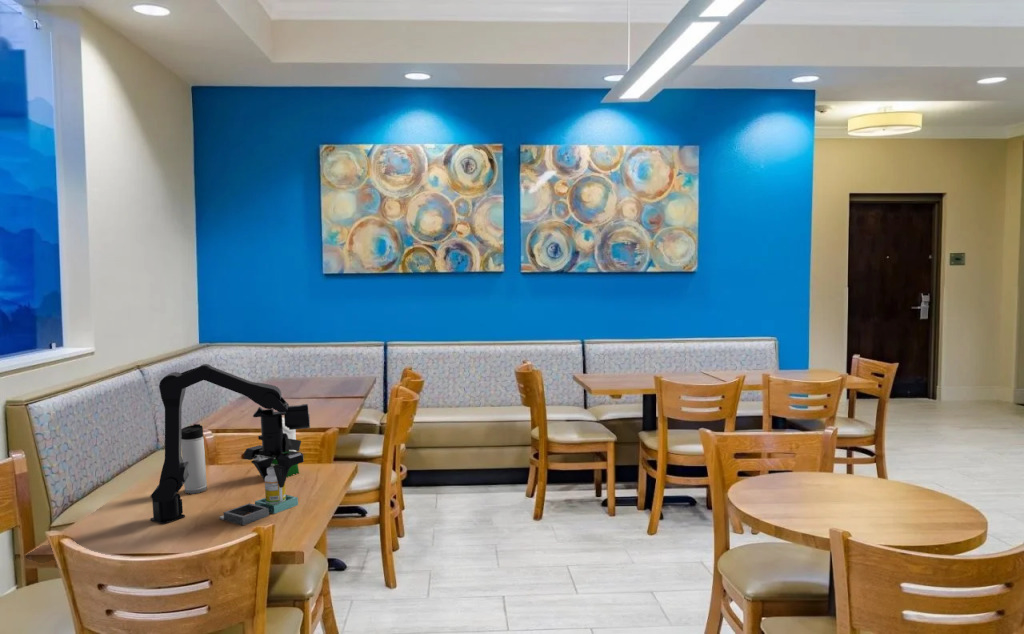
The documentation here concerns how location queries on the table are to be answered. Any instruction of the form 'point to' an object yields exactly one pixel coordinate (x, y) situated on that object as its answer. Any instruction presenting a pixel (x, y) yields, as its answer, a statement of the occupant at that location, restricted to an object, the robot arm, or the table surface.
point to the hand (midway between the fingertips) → (275, 485)
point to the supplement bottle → (273, 488)
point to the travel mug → (194, 458)
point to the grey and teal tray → (257, 510)
